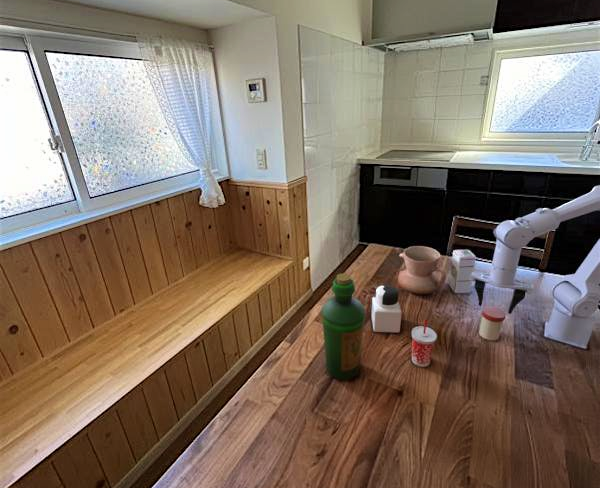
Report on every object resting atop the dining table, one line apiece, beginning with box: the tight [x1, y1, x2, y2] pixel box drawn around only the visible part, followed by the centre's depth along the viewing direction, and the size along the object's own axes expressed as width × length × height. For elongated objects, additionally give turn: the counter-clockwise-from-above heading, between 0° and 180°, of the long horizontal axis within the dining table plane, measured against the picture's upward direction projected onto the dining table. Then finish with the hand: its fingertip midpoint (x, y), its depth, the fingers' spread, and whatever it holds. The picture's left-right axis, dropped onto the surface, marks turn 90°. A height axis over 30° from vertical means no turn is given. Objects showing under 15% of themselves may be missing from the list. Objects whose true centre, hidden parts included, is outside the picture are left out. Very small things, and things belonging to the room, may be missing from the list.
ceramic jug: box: [397, 245, 447, 295], centre depth 119 cm, size 18×14×14 cm
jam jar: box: [478, 316, 504, 341], centre depth 97 cm, size 5×5×8 cm
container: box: [371, 284, 403, 334], centre depth 102 cm, size 8×8×13 cm
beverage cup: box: [411, 316, 438, 368], centre depth 87 cm, size 6×6×14 cm
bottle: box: [321, 273, 366, 381], centre depth 83 cm, size 11×11×28 cm
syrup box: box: [448, 249, 477, 294], centre depth 118 cm, size 6×6×14 cm
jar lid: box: [481, 305, 506, 322], centre depth 95 cm, size 6×6×2 cm
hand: (494, 307), depth 94 cm, fingers open, 7 cm apart
